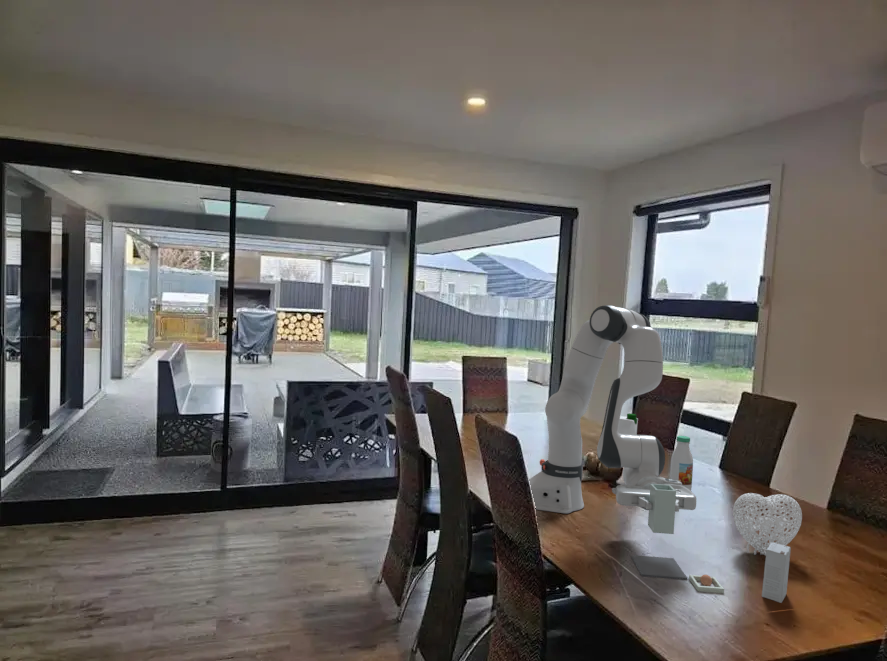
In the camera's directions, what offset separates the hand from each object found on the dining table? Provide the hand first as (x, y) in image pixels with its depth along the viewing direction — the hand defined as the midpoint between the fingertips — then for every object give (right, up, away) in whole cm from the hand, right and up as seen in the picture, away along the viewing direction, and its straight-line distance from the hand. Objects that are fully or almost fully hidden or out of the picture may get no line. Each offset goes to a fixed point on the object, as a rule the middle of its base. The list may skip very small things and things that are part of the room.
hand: (663, 507), depth 145 cm
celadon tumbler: (0, -6, +1) cm, 6 cm away
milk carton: (+26, -13, +114) cm, 117 cm away
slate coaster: (-1, -16, +2) cm, 17 cm away
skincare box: (+22, -18, -10) cm, 31 cm away
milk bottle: (+33, -15, +70) cm, 79 cm away
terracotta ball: (+8, -17, -7) cm, 20 cm away
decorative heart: (+33, -18, +14) cm, 40 cm away
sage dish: (+8, -18, -7) cm, 20 cm away
